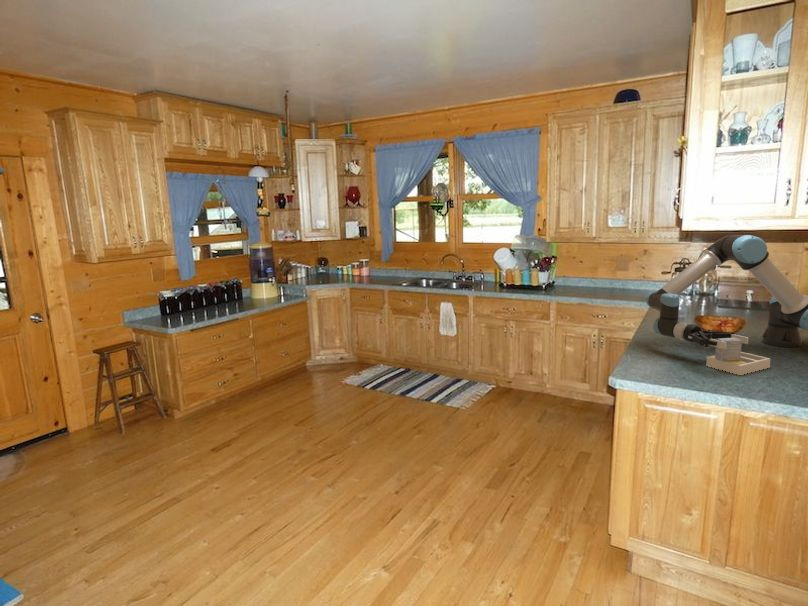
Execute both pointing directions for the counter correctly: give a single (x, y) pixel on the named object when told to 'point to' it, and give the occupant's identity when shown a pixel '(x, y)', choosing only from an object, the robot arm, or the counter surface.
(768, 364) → the board
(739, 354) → the medicine box
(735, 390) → the counter surface
